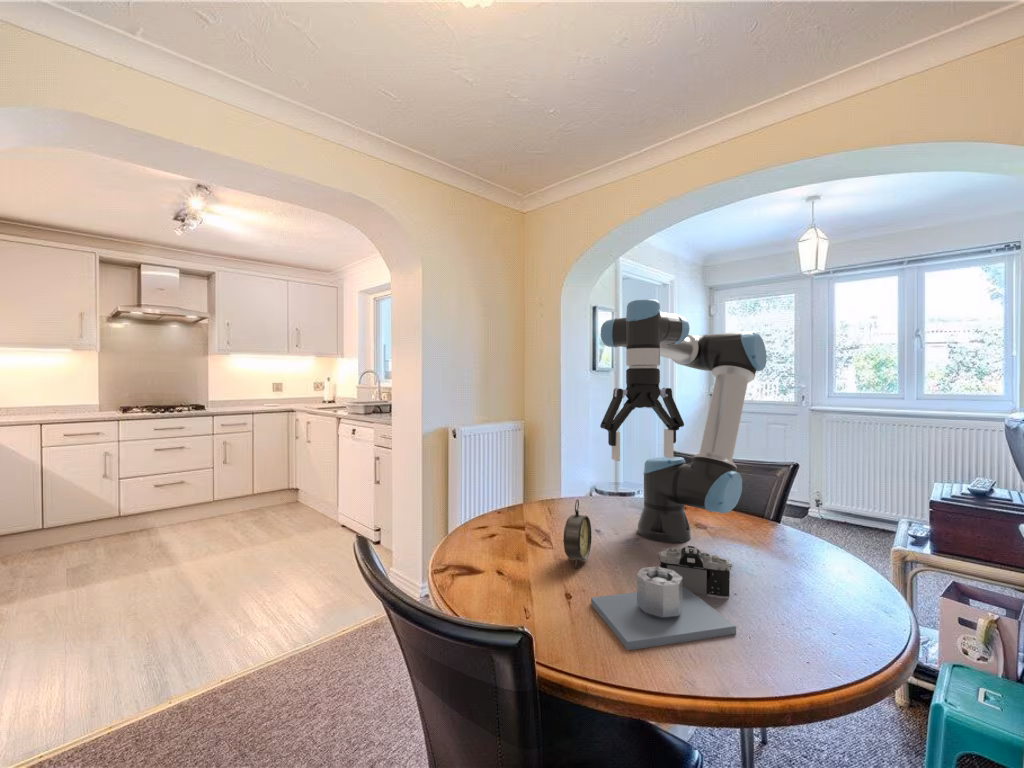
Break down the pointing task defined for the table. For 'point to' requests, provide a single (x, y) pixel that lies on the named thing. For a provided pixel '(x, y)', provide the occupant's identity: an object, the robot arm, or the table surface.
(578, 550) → the alarm clock
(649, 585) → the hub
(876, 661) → the table surface
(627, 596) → the shaft block
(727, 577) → the camera
